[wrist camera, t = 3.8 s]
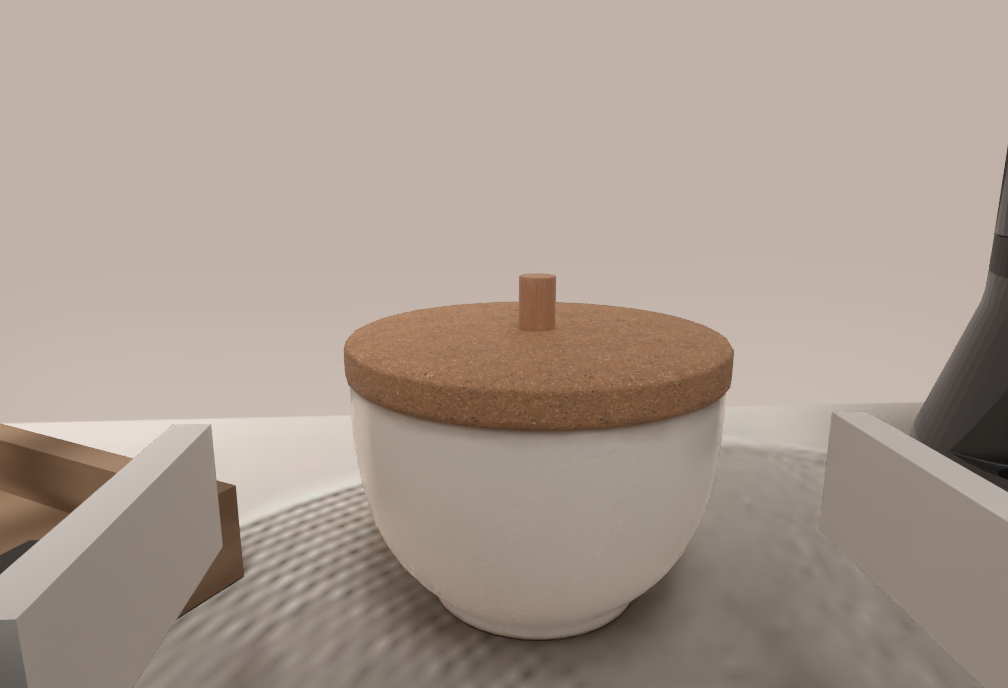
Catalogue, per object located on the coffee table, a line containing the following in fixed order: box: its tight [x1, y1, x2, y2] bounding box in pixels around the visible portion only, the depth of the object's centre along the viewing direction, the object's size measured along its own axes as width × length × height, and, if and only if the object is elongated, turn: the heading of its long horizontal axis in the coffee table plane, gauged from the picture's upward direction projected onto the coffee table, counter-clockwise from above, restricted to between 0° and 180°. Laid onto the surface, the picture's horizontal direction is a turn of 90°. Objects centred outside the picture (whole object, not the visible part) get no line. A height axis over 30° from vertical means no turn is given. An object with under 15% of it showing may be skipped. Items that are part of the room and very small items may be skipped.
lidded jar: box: [344, 274, 734, 640], centre depth 21 cm, size 11×11×9 cm
